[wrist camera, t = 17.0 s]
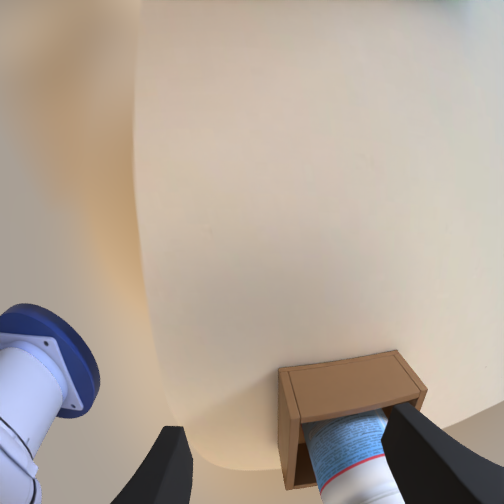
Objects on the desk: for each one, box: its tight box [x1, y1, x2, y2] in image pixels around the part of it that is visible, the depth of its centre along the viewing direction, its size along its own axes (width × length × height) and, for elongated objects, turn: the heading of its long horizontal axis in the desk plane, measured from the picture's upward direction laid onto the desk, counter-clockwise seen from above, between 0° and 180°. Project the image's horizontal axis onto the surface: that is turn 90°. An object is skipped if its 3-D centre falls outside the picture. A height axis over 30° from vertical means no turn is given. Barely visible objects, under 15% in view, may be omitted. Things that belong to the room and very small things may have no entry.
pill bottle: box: [301, 408, 405, 504], centre depth 16 cm, size 6×6×11 cm
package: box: [278, 350, 428, 490], centre depth 20 cm, size 9×9×5 cm
